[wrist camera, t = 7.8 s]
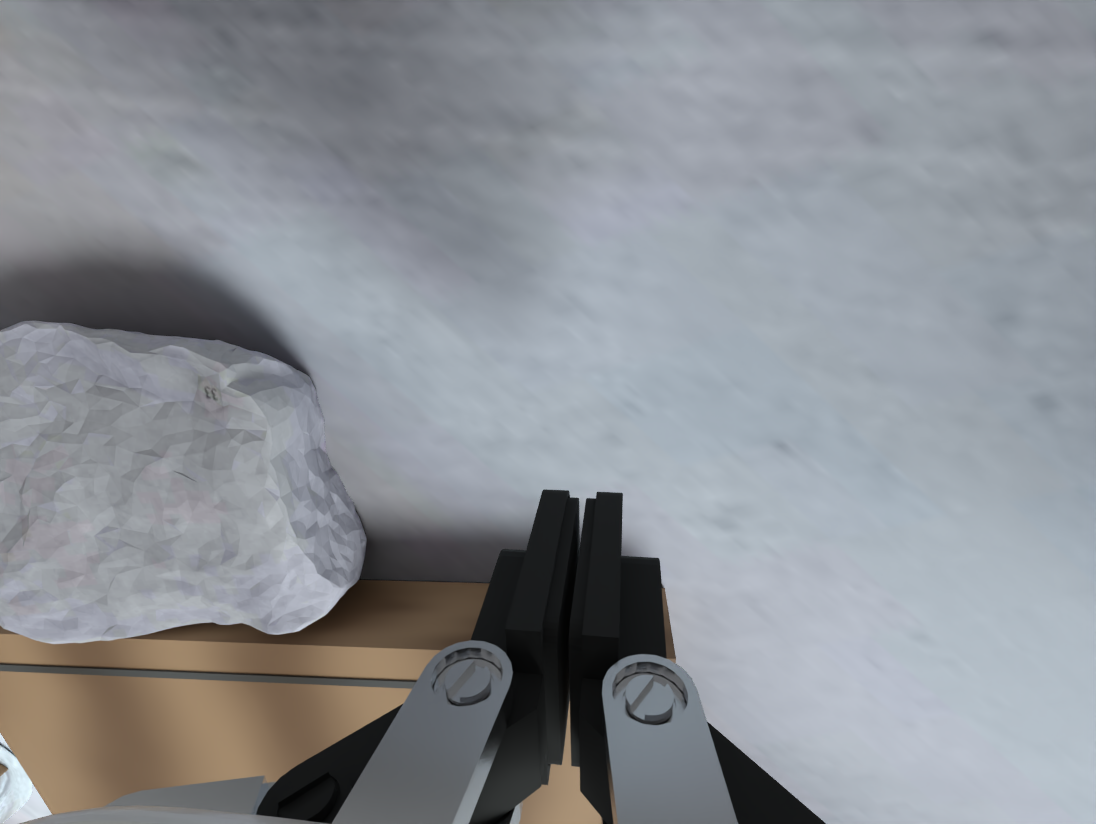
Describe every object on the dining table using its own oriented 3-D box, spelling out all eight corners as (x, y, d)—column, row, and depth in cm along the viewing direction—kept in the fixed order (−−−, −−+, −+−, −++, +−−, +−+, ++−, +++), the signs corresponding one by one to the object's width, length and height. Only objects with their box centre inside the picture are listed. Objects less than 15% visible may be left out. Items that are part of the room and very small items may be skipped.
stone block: (3, 326, 19) (84, 590, 22) (-181, 341, 15) (-53, 675, 17) (337, 291, 18) (387, 571, 21) (254, 295, 14) (330, 656, 16)
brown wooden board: (664, 587, 19) (676, 660, 17) (650, 806, 24) (657, 890, 22) (19, 570, 21) (-67, 632, 19) (127, 775, 26) (72, 849, 24)
